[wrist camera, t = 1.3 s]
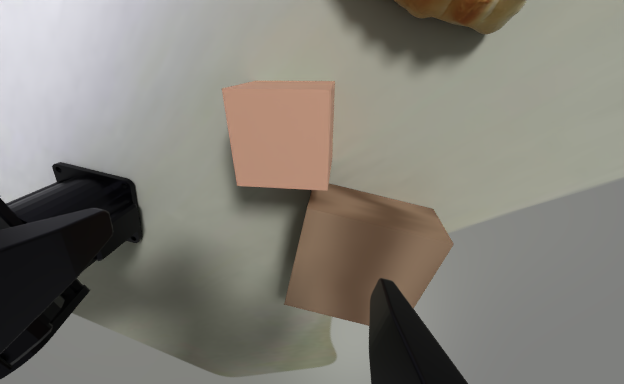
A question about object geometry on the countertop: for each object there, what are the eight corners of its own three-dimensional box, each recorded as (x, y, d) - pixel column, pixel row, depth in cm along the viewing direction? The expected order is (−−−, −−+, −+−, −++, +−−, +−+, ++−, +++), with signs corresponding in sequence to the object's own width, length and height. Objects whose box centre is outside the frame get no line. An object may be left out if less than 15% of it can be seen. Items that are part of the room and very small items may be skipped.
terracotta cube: (263, 155, 18) (237, 186, 14) (256, 80, 16) (221, 88, 12) (332, 158, 18) (327, 190, 13) (334, 81, 15) (330, 89, 11)
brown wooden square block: (293, 266, 23) (284, 304, 19) (314, 180, 19) (306, 208, 15) (390, 290, 23) (398, 332, 19) (433, 209, 18) (453, 244, 15)
